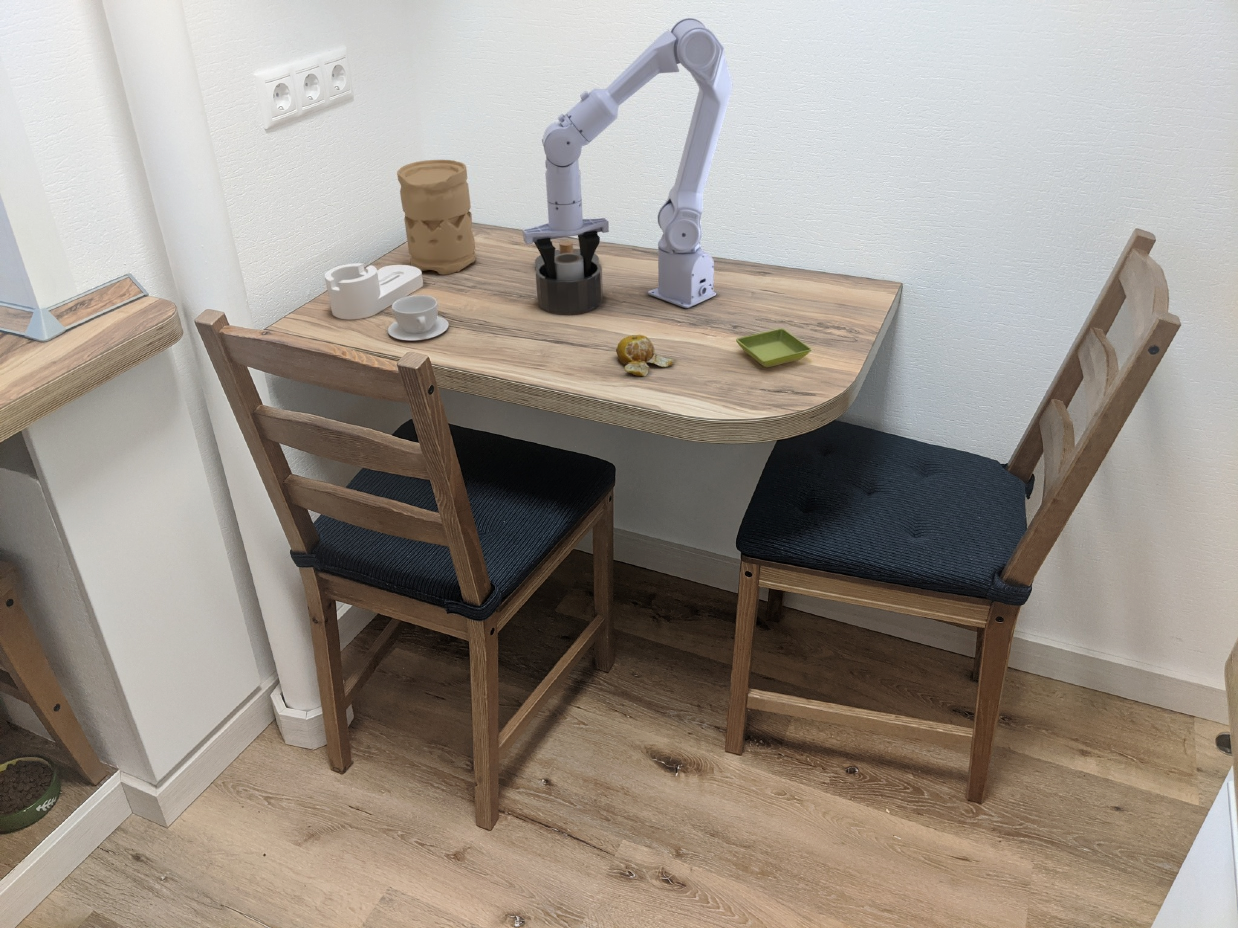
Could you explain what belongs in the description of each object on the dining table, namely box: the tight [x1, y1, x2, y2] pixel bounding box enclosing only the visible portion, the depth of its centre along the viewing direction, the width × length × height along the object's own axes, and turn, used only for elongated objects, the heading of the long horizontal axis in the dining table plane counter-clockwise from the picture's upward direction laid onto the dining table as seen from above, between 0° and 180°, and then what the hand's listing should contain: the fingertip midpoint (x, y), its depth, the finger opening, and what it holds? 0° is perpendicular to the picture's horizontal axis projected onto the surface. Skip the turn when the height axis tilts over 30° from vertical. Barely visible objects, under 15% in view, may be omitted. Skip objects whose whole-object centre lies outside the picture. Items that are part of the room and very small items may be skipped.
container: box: [396, 159, 477, 275], centre depth 180 cm, size 13×13×18 cm
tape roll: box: [555, 253, 584, 280], centre depth 165 cm, size 5×5×5 cm
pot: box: [534, 260, 604, 316], centre depth 166 cm, size 11×11×6 cm
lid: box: [534, 240, 600, 269], centre depth 181 cm, size 12×12×4 cm
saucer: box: [735, 328, 812, 369], centre depth 147 cm, size 9×9×2 cm
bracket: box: [324, 262, 424, 321], centre depth 170 cm, size 20×9×7 cm, turn 153°
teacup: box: [387, 294, 449, 341], centre depth 158 cm, size 10×10×5 cm
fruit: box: [615, 334, 675, 377], centre depth 146 cm, size 8×8×4 cm
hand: (568, 277), depth 165 cm, fingers closed on tape roll, 5 cm apart
